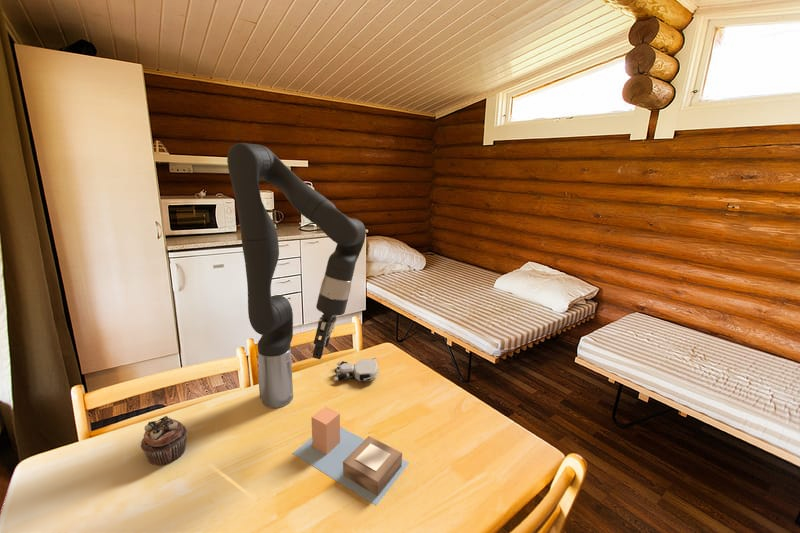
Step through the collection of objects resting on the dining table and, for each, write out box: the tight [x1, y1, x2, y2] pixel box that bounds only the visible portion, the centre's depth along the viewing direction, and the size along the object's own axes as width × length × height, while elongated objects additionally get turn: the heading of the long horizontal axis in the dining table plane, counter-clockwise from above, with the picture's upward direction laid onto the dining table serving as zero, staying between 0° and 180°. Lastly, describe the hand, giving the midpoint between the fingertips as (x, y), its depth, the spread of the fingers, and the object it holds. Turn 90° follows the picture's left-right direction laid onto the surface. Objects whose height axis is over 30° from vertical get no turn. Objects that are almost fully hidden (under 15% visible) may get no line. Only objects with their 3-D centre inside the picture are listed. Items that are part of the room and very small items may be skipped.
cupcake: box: [140, 415, 188, 467], centre depth 89 cm, size 10×10×10 cm
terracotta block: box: [311, 405, 341, 455], centre depth 93 cm, size 5×5×9 cm
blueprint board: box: [292, 426, 410, 506], centre depth 90 cm, size 26×14×1 cm, turn 58°
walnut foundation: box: [343, 435, 403, 496], centre depth 86 cm, size 10×10×4 cm
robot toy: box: [332, 357, 379, 382], centre depth 126 cm, size 12×4×15 cm
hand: (320, 351), depth 96 cm, fingers open, 8 cm apart
